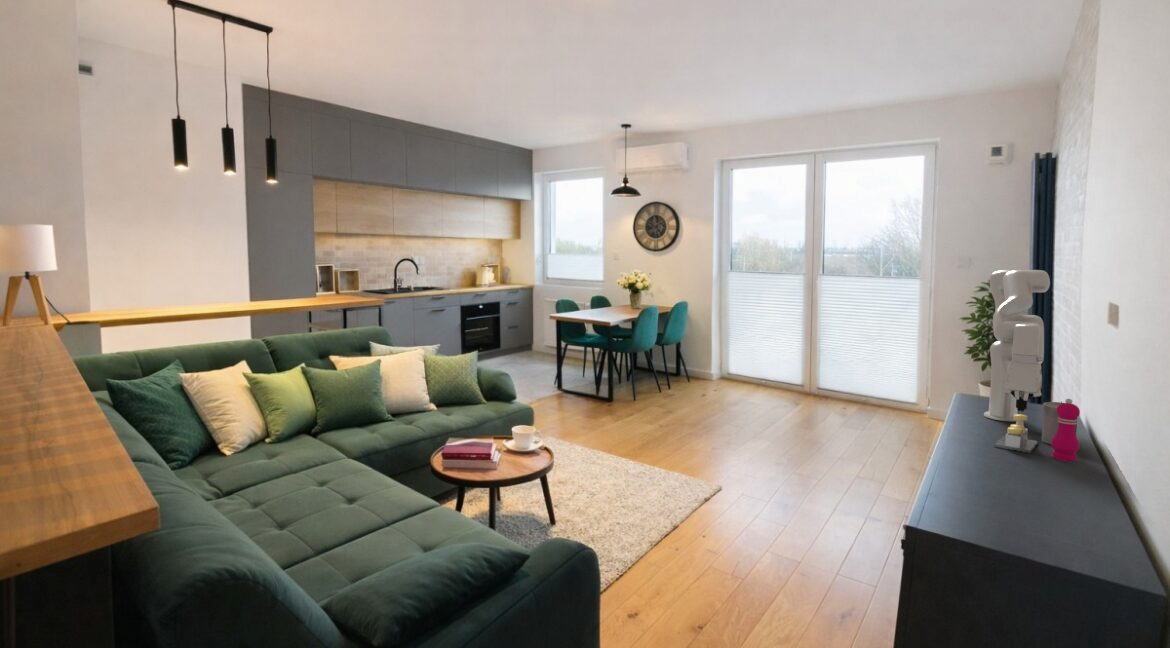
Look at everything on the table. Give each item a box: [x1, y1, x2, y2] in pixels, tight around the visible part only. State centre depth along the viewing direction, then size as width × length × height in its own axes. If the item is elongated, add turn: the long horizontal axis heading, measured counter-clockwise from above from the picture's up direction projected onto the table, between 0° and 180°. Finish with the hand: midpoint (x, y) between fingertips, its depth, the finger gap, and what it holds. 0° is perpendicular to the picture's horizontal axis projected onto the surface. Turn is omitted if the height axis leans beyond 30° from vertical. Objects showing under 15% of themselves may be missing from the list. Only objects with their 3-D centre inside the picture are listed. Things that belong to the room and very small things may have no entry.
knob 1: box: [1013, 413, 1028, 427], centre depth 216 cm, size 4×4×6 cm
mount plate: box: [994, 427, 1038, 454], centre depth 213 cm, size 14×10×5 cm
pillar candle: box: [1041, 401, 1078, 445], centre depth 215 cm, size 10×10×15 cm
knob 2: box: [1009, 423, 1025, 431], centre depth 213 cm, size 4×4×6 cm
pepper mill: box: [1050, 398, 1081, 462], centre depth 199 cm, size 7×7×20 cm
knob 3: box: [1006, 426, 1022, 436], centre depth 210 cm, size 4×4×6 cm
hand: (1021, 410), depth 215 cm, fingers closed
